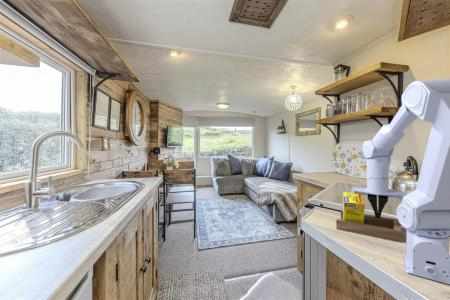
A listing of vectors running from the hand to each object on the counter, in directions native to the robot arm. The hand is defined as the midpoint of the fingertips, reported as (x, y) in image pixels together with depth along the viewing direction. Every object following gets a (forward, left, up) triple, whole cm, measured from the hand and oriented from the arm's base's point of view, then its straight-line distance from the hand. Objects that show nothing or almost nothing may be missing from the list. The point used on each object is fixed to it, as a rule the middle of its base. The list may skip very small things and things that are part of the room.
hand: (377, 217), depth 67 cm
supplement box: (+1, +7, -4) cm, 8 cm away
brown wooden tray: (0, +2, -5) cm, 5 cm away
